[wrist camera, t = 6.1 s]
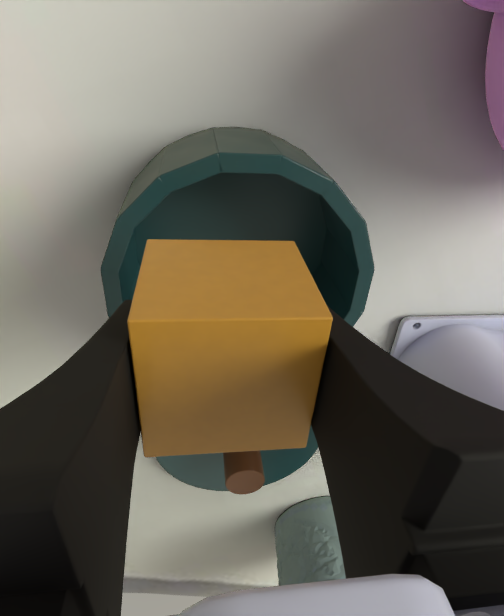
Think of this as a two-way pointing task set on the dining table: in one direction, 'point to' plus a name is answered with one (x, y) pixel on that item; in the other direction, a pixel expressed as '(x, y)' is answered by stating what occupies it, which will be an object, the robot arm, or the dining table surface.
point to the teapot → (494, 65)
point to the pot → (243, 212)
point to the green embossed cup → (308, 543)
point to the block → (226, 346)
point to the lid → (238, 467)
